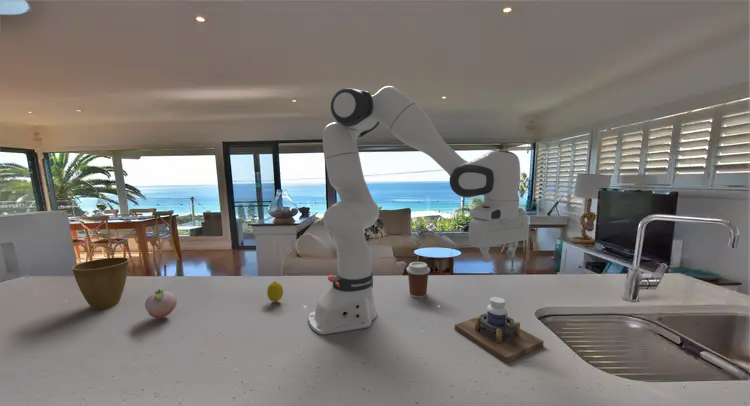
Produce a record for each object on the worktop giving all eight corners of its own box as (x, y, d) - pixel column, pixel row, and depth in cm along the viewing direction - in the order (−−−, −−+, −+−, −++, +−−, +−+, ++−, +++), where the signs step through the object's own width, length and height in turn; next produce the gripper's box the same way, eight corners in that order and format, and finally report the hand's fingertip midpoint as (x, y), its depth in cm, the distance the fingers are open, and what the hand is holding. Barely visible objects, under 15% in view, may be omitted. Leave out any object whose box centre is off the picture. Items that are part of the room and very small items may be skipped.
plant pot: (75, 319, 96) (69, 272, 95) (79, 304, 107) (74, 262, 106) (133, 305, 106) (129, 263, 104) (132, 293, 117) (128, 254, 115)
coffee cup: (433, 292, 115) (433, 263, 113) (424, 301, 107) (424, 269, 106) (412, 288, 120) (412, 259, 118) (402, 296, 112) (402, 265, 111)
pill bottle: (508, 338, 80) (510, 304, 79) (488, 336, 81) (489, 303, 80) (504, 328, 86) (505, 296, 84) (484, 326, 87) (485, 295, 86)
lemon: (264, 304, 106) (263, 283, 105) (274, 298, 111) (273, 277, 110) (276, 306, 104) (275, 285, 103) (286, 300, 109) (285, 279, 108)
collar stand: (506, 363, 72) (506, 344, 72) (454, 329, 88) (454, 313, 87) (543, 346, 79) (544, 328, 79) (489, 317, 95) (489, 302, 94)
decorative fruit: (181, 318, 96) (178, 289, 95) (150, 328, 91) (147, 297, 89) (173, 309, 103) (171, 282, 102) (144, 318, 97) (141, 289, 96)
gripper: (515, 206, 87) (513, 251, 89) (465, 211, 78) (463, 261, 79) (535, 208, 82) (533, 256, 83) (484, 214, 72) (482, 268, 74)
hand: (498, 259), depth 81 cm, fingers open, 8 cm apart
